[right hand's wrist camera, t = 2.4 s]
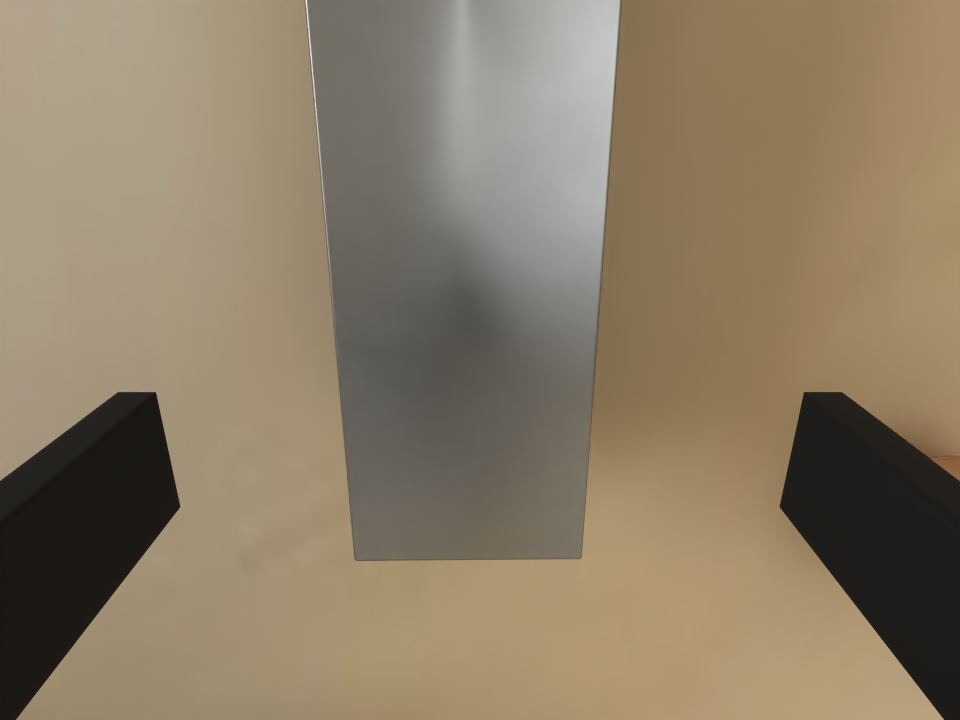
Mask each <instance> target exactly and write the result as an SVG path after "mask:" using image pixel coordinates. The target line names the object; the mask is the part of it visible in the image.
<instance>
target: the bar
mask: <svg viewBox="0 0 960 720" xmlns="http://www.w3.org/2000/svg"><path fill="white" fill-rule="evenodd" d="M621 7H622V0H305V9H306V20H307V31H308V42H309V54H310V65H311V76H312V87H313V98H314V110H315V121H316V132H317V143H318V155H319V166H320V177H321V188H322V200H323V211H324V222H325V233H326V244H327V256H328V267H329V278H330V289H331V301H332V312H333V323H334V334H335V345H336V357H337V368H338V379H339V390H340V402H341V413H342V424H343V435H344V447H345V458H346V469H347V480H348V491H349V503H350V514H351V525H352V536H353V548H354V558H355V560H356V561H378V560H509V559H581V557H582V546H583V532H584V518H585V505H586V491H587V477H588V463H589V449H590V435H591V422H592V408H593V394H594V380H595V366H596V352H597V339H598V325H599V311H600V297H601V283H602V269H603V256H604V242H605V228H606V214H607V200H608V186H609V173H610V159H611V145H612V131H613V117H614V103H615V90H616V76H617V62H618V48H619V34H620V20H621Z"/></svg>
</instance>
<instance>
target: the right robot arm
mask: <svg viewBox="0 0 960 720" xmlns="http://www.w3.org/2000/svg"><path fill="white" fill-rule="evenodd" d="M179 508H180V503H179V498H178V494H177V489H176V484H175V480H174V475H173V470H172V466H171V461H170V456H169V451H168V447H167V442H166V437H165V433H164V428H163V423H162V419H161V414H160V409H159V405H158V400H157V395H156V392H118V393H116V394H115V395H114V396H112V397H111V398H110V399H108V400H107V401H106V402H104V403H103V404H102V405H100V406H99V407H98V408H96V409H95V410H94V411H92V412H91V413H90V414H89V415H87V416H86V417H85V418H83V419H82V420H81V421H79V422H78V423H77V424H75V425H74V426H73V427H71V428H70V429H69V430H67V431H66V432H65V433H63V434H62V435H61V436H59V437H58V438H57V439H55V440H54V441H53V442H51V443H50V444H49V445H47V446H46V447H45V448H43V449H42V450H41V451H39V452H38V453H37V454H35V455H34V456H33V457H31V458H30V459H29V460H27V461H26V462H25V463H23V464H22V465H21V466H19V467H18V468H17V469H15V470H14V471H13V472H12V473H10V474H9V475H8V476H6V477H5V478H4V479H2V480H1V481H0V720H16V719H17V717H18V716H19V715H20V714H21V712H22V711H23V710H24V708H25V707H26V706H27V705H28V703H29V702H30V701H31V699H32V698H33V697H34V696H35V694H36V693H37V692H38V690H39V689H40V688H41V686H42V685H43V684H44V683H45V681H46V680H47V679H48V677H49V676H50V675H51V674H52V672H53V671H54V670H55V668H56V667H57V666H58V664H59V663H60V662H61V661H62V659H63V658H64V657H65V655H66V654H67V653H68V652H69V650H70V649H71V648H72V646H73V645H74V644H75V643H76V641H77V640H78V639H79V637H80V636H81V635H82V633H83V632H84V631H85V630H86V628H87V627H88V626H89V624H90V623H91V622H92V621H93V619H94V618H95V617H96V615H97V614H98V613H99V611H100V610H101V609H102V608H103V606H104V605H105V604H106V602H107V601H108V600H109V599H110V597H111V596H112V595H113V593H114V592H115V591H116V590H117V588H118V587H119V586H120V584H121V583H122V582H123V580H124V579H125V578H126V577H127V575H128V574H129V573H130V571H131V570H132V569H133V568H134V566H135V565H136V564H137V562H138V561H139V560H140V558H141V557H142V556H143V555H144V553H145V552H146V551H147V549H148V548H149V547H150V546H151V544H152V543H153V542H154V540H155V539H156V538H157V537H158V535H159V534H160V533H161V531H162V530H163V529H164V527H165V526H166V525H167V524H168V522H169V521H170V520H171V518H172V517H173V516H174V515H175V513H176V512H177V511H178V509H179ZM780 508H781V509H782V511H783V512H784V513H785V515H786V516H787V517H788V518H789V520H790V521H791V522H792V524H793V525H794V526H795V527H796V529H797V530H798V531H799V533H800V534H801V535H802V537H803V538H804V539H805V540H806V542H807V543H808V544H809V546H810V547H811V548H812V549H813V551H814V552H815V553H816V555H817V556H818V557H819V558H820V560H821V561H822V562H823V564H824V565H825V566H826V568H827V569H828V570H829V571H830V573H831V574H832V575H833V577H834V578H835V579H836V580H837V582H838V583H839V584H840V586H841V587H842V588H843V590H844V591H845V592H846V593H847V595H848V596H849V597H850V599H851V600H852V601H853V602H854V604H855V605H856V606H857V608H858V609H859V610H860V611H861V613H862V614H863V615H864V617H865V618H866V619H867V621H868V622H869V623H870V624H871V626H872V627H873V628H874V630H875V631H876V632H877V633H878V635H879V636H880V637H881V639H882V640H883V641H884V643H885V644H886V645H887V646H888V648H889V649H890V650H891V652H892V653H893V654H894V655H895V657H896V658H897V659H898V661H899V662H900V663H901V664H902V666H903V667H904V668H905V670H906V671H907V672H908V674H909V675H910V676H911V677H912V679H913V680H914V681H915V683H916V684H917V685H918V686H919V688H920V689H921V690H922V692H923V693H924V694H925V696H926V697H927V698H928V699H929V701H930V702H931V703H932V705H933V706H934V707H935V708H936V710H937V711H938V712H939V714H940V715H941V716H942V717H943V719H944V720H960V481H959V480H958V479H956V478H955V477H954V476H952V475H951V474H950V473H948V472H947V471H946V470H945V469H943V468H942V467H941V466H939V465H938V464H937V463H935V462H934V461H933V460H931V459H930V458H929V457H927V456H926V455H925V454H923V453H922V452H921V451H919V450H918V449H917V448H915V447H914V446H913V445H911V444H910V443H909V442H907V441H906V440H905V439H903V438H902V437H901V436H899V435H898V434H897V433H895V432H894V431H893V430H891V429H890V428H889V427H887V426H886V425H885V424H883V423H882V422H881V421H879V420H878V419H877V418H875V417H874V416H873V415H871V414H870V413H869V412H868V411H866V410H865V409H864V408H862V407H861V406H860V405H858V404H857V403H856V402H854V401H853V400H852V399H850V398H849V397H848V396H846V395H845V394H844V393H842V392H804V395H803V400H802V405H801V409H800V414H799V419H798V423H797V428H796V433H795V437H794V442H793V447H792V451H791V456H790V461H789V466H788V470H787V475H786V480H785V484H784V489H783V494H782V498H781V503H780Z"/></svg>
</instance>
